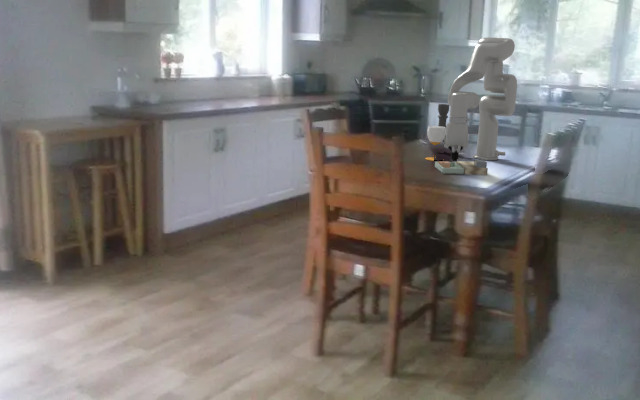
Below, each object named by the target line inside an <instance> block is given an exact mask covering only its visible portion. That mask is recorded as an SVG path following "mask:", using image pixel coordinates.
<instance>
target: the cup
mask: <svg viewBox="0 0 640 400" xmlns="http://www.w3.org/2000/svg"><path fill="white" fill-rule="evenodd" d="M445 130H446V128H445V127H441V126H438V125H428V126H427V130H426V132H427V134H426V135H427V138H428V139H427V140H428V141H429V142H430V143H431V144H432V145H433V146H434V145H437V144H440V143H441V142H442V141H443V139H444V136H445ZM424 159H425V160H427V161H431V162H435V161H434V156H433V157H431V156H430V157H425V158H424Z"/></svg>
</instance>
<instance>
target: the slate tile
mask: <svg viewBox="0 0 640 400" xmlns="http://www.w3.org/2000/svg"><path fill="white" fill-rule="evenodd" d="M473 162H474V166H475V167H476V168H488V162H487V160H481V159H474V160H473Z"/></svg>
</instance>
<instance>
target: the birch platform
mask: <svg viewBox="0 0 640 400" xmlns="http://www.w3.org/2000/svg"><path fill="white" fill-rule="evenodd" d="M455 162H456V163H457V164H458V165H460V166H461V167H462V168H464V174H463V175H473V176H474V175H475V176H478V175H479V176H488V167H486V168H476V167H475V166H474V161H468V160H467V161H465V160H464V161H463V160H461V161H460V160H457V161H455Z"/></svg>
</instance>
